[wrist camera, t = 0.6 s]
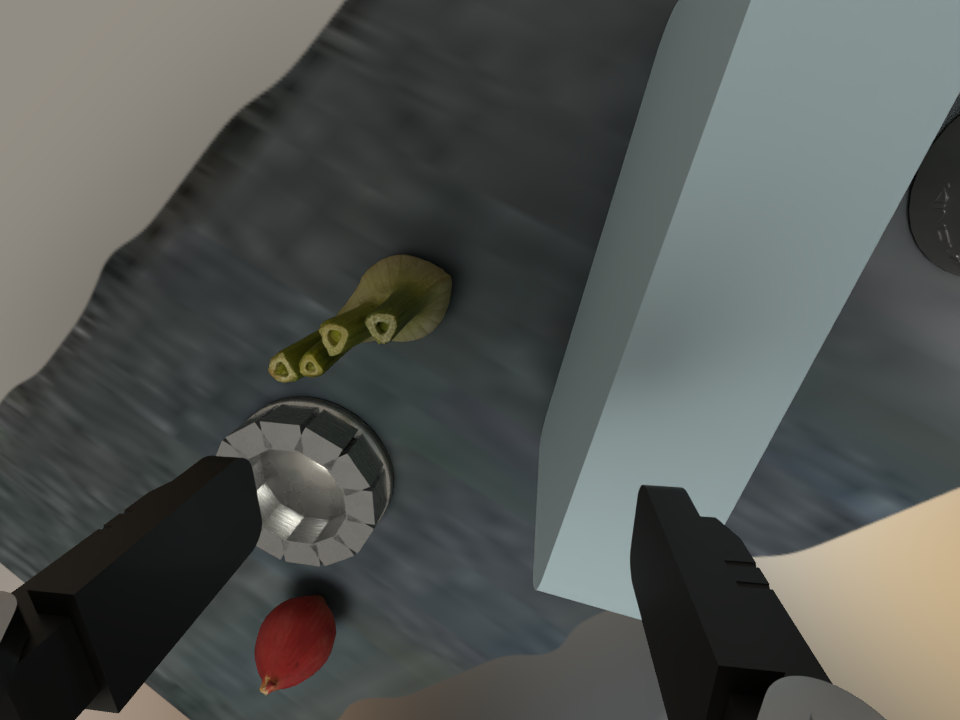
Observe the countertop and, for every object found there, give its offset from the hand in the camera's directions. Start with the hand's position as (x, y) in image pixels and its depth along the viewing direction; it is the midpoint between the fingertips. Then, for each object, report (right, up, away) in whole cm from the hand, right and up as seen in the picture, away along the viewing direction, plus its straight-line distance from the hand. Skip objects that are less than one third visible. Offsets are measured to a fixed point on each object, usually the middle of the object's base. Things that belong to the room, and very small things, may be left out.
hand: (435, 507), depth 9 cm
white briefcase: (+10, +8, +16) cm, 20 cm away
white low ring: (-11, -5, +24) cm, 27 cm away
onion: (-13, -18, +30) cm, 37 cm away
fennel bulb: (-3, +7, +18) cm, 20 cm away
